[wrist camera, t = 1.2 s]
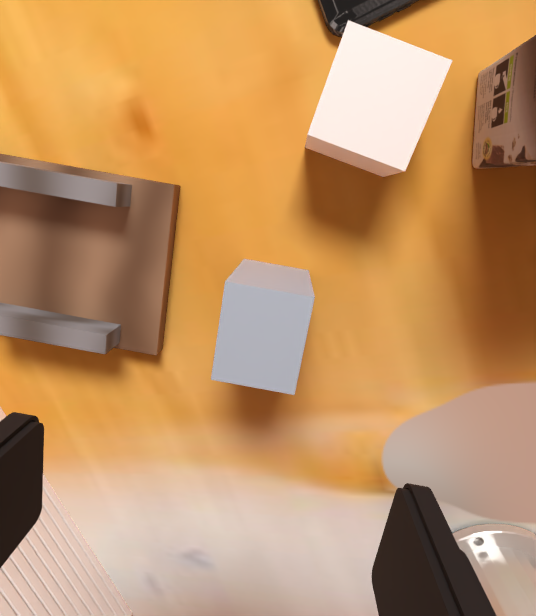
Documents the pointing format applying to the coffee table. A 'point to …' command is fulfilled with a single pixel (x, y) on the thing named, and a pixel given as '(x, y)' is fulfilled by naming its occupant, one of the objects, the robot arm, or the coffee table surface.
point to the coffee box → (507, 111)
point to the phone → (358, 12)
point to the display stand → (84, 256)
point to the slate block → (263, 326)
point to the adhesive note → (376, 101)
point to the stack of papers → (56, 570)
